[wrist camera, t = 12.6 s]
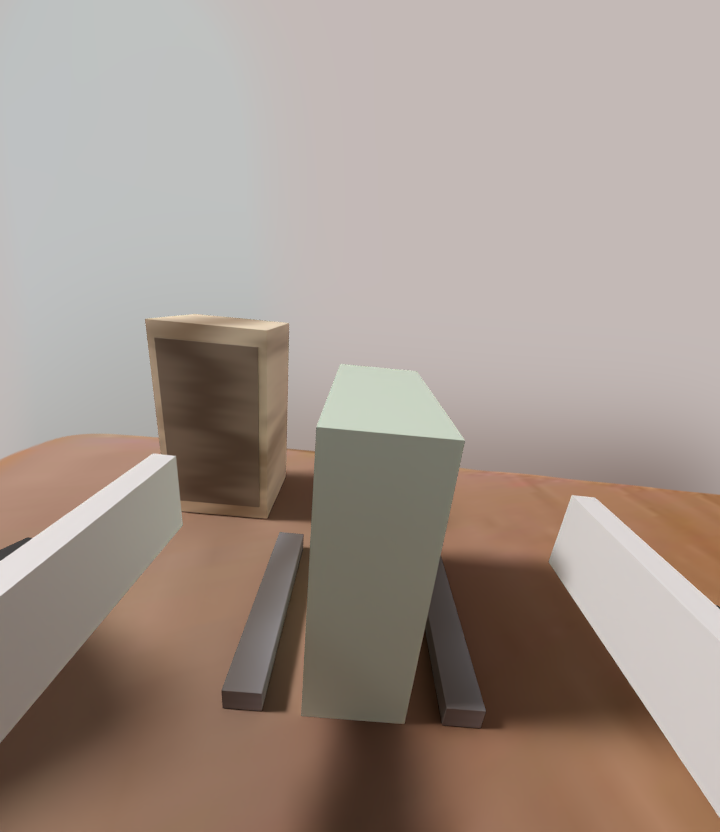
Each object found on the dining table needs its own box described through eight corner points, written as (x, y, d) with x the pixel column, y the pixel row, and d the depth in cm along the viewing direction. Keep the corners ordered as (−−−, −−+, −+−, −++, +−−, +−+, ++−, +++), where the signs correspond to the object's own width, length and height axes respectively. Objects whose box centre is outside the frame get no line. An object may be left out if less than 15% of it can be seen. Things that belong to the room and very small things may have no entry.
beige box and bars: (416, 487, 30) (441, 337, 25) (480, 728, 13) (585, 413, 9) (205, 468, 29) (195, 314, 25) (-2, 690, 13) (-138, 346, 8)
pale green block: (388, 555, 21) (416, 371, 18) (404, 723, 13) (465, 440, 9) (326, 550, 21) (340, 363, 17) (301, 715, 13) (316, 426, 9)
